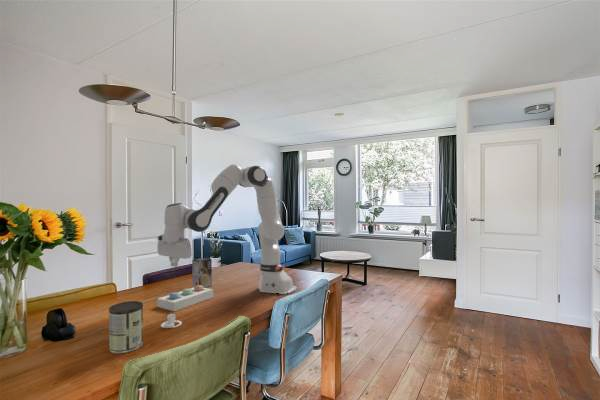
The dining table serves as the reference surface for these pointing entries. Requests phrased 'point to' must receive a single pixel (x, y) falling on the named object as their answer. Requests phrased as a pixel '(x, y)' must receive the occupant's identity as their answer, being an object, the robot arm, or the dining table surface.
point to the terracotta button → (198, 288)
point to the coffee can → (125, 326)
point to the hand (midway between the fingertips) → (174, 266)
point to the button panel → (185, 299)
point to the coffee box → (202, 272)
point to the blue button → (174, 296)
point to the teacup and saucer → (170, 321)
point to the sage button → (186, 292)
